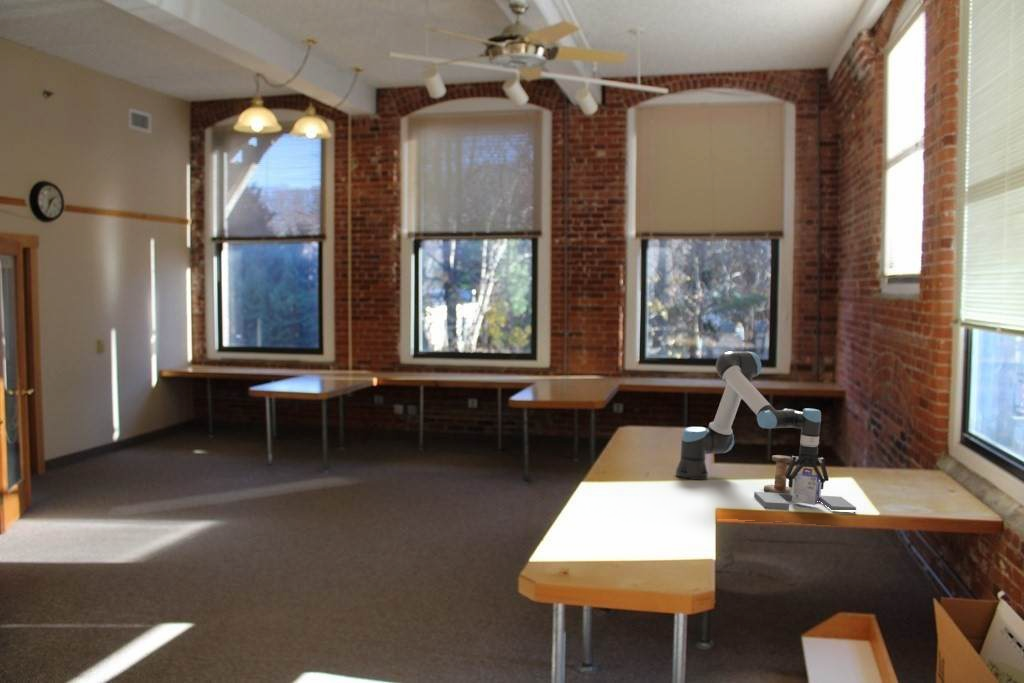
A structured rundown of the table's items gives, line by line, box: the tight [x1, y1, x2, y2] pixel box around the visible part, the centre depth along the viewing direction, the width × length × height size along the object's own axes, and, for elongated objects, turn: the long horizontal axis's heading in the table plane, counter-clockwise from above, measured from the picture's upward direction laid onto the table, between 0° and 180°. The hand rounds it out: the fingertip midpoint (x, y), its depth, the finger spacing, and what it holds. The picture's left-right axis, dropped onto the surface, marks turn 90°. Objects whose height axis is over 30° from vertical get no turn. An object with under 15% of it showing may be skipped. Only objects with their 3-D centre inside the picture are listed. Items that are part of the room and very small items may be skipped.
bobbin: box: [763, 454, 791, 494], centre depth 396 cm, size 14×14×16 cm
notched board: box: [753, 491, 857, 511], centre depth 375 cm, size 38×18×2 cm, turn 89°
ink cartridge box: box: [791, 467, 820, 506], centre depth 373 cm, size 10×6×14 cm, turn 60°
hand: (805, 495), depth 374 cm, fingers closed on ink cartridge box, 11 cm apart
